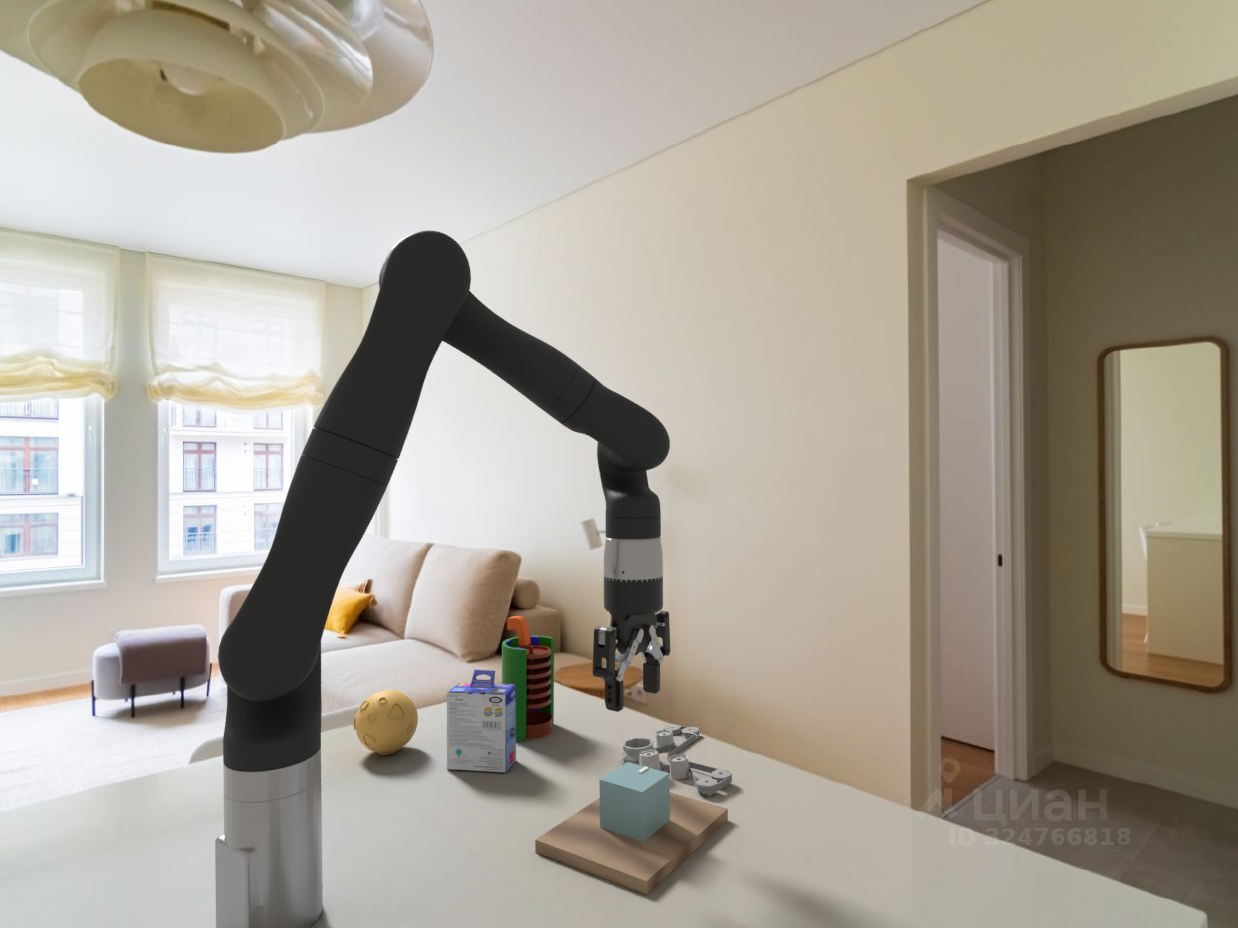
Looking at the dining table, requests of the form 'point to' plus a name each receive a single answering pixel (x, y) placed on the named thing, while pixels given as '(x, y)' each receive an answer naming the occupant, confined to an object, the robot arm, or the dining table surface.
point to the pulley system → (674, 758)
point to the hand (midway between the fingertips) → (633, 700)
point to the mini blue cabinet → (634, 801)
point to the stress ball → (386, 721)
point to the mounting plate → (632, 843)
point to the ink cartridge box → (481, 725)
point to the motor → (530, 679)
